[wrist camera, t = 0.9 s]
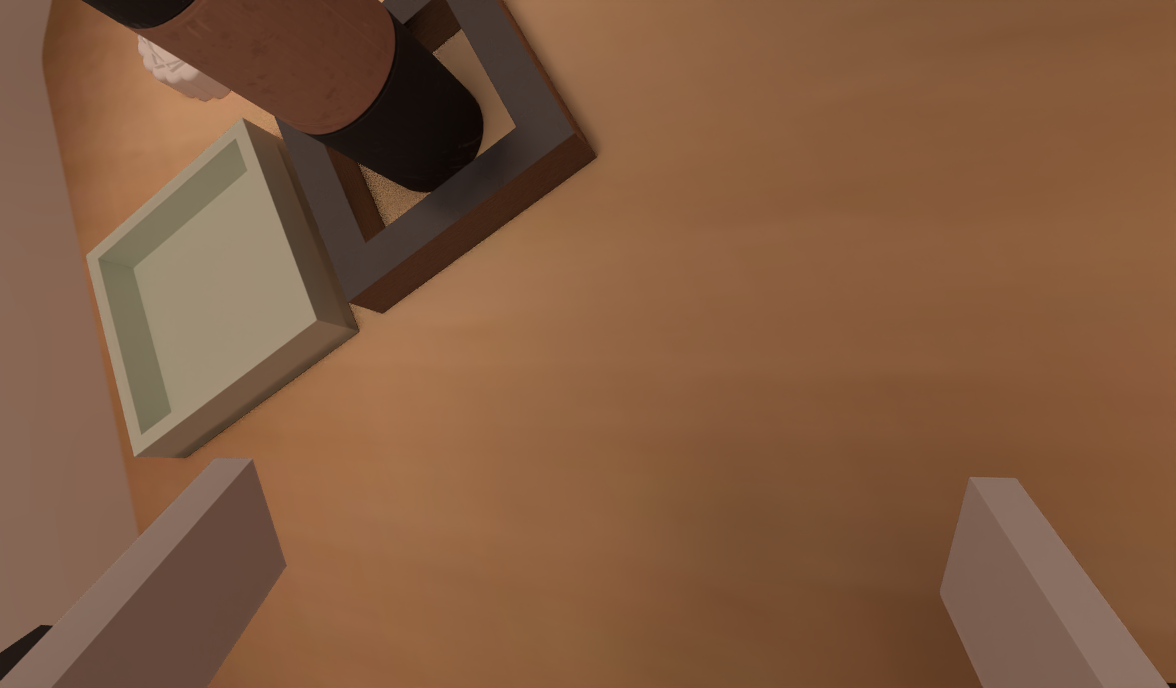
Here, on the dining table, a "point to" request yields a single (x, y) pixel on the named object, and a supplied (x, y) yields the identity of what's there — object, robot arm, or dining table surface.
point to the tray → (216, 294)
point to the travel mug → (326, 76)
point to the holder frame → (469, 198)
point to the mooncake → (179, 73)
